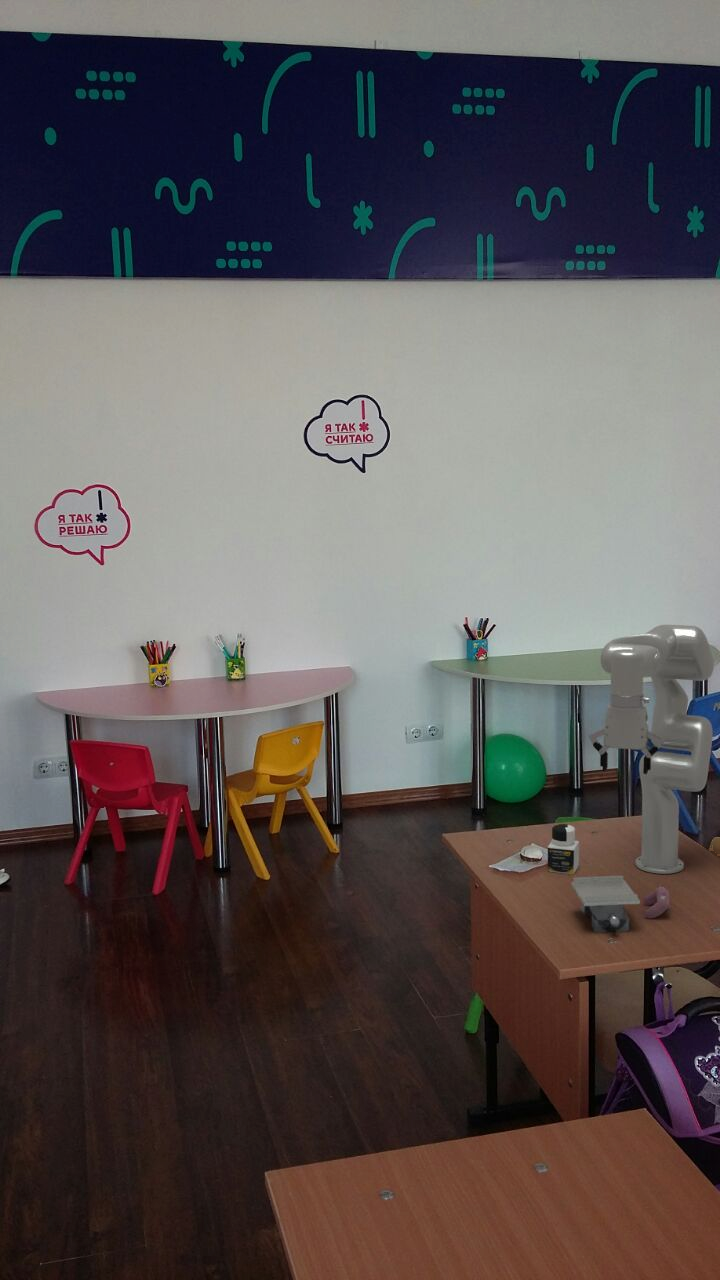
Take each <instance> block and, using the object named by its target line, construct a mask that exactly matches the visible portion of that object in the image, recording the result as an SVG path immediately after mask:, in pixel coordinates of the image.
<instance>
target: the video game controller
mask: <svg viewBox="0 0 720 1280" xmlns="http://www.w3.org/2000/svg"><path fill="white" fill-rule="evenodd" d="M669 898H670V892H669V889H667V887H664V886H662V887H661V885H659V887H656V888H655V889H654V890H653V891H651V892H650V893H648V894H647V895H646V896H644V898H643V900H642V901H643V904H644V905H645V906H650V907H648V908H647V909H646V911H645V913H644V915H645V918H646V919H655V918H656V917H659V916H661V915H662V914H663V913H665V912H666V910H670V908H671V904H670V901H671V900H670V899H669ZM651 905H652V906H651Z"/></svg>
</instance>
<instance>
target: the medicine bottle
mask: <svg viewBox="0 0 720 1280" xmlns="http://www.w3.org/2000/svg"><path fill="white" fill-rule="evenodd" d="M550 841H551V842H550V843H549V844H548V846H547V871H549V872H550V873H556V874H557V873H559V874H565V875H574V874H575V873H576V871H577V869H578V868H579V865H580V841H578V840H576V828H575V827H574V826H573V825H570V824H565V823H560V824H555V825H554V826H552V828H551V840H550Z"/></svg>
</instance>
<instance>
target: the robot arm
mask: <svg viewBox="0 0 720 1280" xmlns="http://www.w3.org/2000/svg"><path fill="white" fill-rule="evenodd" d="M599 660H600V666H601V668H602V669H603V671H604V672H606V673H607V674H610V695H609V696H610V701H609V703H610V704H608V705H607V708H606V712H605V716H604V717H605V719H604V727H603V728H602V729H599V730H597V731H595V732H592V733H590V734H589V736H588V738H589V740H590V743H591V744H592V746H593V748H594V749H596V751H597V752H598V754H599V755H600V757H599V759H600V761H599V762H600V763H599V766H600V767H602V771H603V772H605V771H607V770H608V767H609V766H608V764H609V763H608V762H609V761H608V759H609V753H608V752H607V750H609V749H623V750H637V751H639V750H640V751H641V752H642V753H643V755H642V756H641V758H640V759H639V764H638V767H639V768H638V771H639V778H640V785H641V796H642V797H641V802H642V803H641V804H642V805H641V807H642V808H641V816H642V817H641V855H640V856H638V857H637V858H635V866H636V868H638V869H639V870H641V871H644V872H647V873H651V874H659V875H660V874H661V875H667V874H668V875H669V874H676V873H679V872H681V871H683V870H684V868H685V867H684V865H685V863H684V861H683V860H681V859H680V858H679V824H680V823H679V820H680V818H679V817H680V816H679V815H680V804H679V801H678V798H677V796H676V795H675V793H674V791H673V790H676V791H677V790H678V791H684V792H694V793H695V792H696V793H697V792H701V791H702V790H704V789H705V787H706V785H707V781H708V775H709V774H708V773H709V768H710V761H711V760H710V759H711V754H712V745H713V735H714V734H713V726H712V723H711V721H710V720H709V719H708V718H707V717H704V716H702V715H701V716H700V715H692V714H691V715H690V714H687V712H688V704H689V698H688V695H687V692H686V691H685V689H684V687H683V686H682V685H681V684H680V683H679V681H678V680H686V681H697V682H698V681H699V682H702V681H707V680H708V679H710V678H711V676H712V675H713V672H714V667H715V666H714V665H715V664H714V663H715V662H714V657H713V653H712V650H711V648H710V644H709V640H708V638H707V636H706V634H705V633H704V631H703V630H702V629H701V628H700V627H698V626H696V625H683V624H682V625H681V624H659V625H657V626H655V627H653V628H652V629H651V630H650V629H649V631H646V633H638V634H635V635H633V634H632V635H628V636H623V637H621V636H620V637H617V638H614V639H612V640H610V641H609V642H607V643H606V644H605V645H604V647H603V648H602V651H601V653H600V659H599ZM644 677H650V679H651V683H652V685H653V689H654V692H655V703H654V710H653V715H652V721H651V728H650V731H649V717H648V712H647V711H648V710H647V707H646V706H644V705H645V704H649V703H650V698H649V697H646V696H645V695H644ZM601 736H603V745H602V744H601V743H600V742H599V741H598V738H599V737H601ZM649 739H650V740H651V743H652V745H653V747H651V748H650V747H649V746H648V745H649ZM660 748H662V749H668V750H677V751H686V752H690V753H691V754H684V753H676V752H666V751H659V749H660Z"/></svg>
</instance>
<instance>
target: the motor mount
mask: <svg viewBox="0 0 720 1280" xmlns="http://www.w3.org/2000/svg"><path fill="white" fill-rule="evenodd" d="M570 883H571V887H572V888H573V890H574V891H575V893H576V894H577V897H578V898H579V900H580V901H581V908H580V909H581V912H582V914H583V915H584V916H591V929H592V930H593V932H594V933H610V932H609V931H617V932H629V930H630V918H629V916H628V915H627V911H626V909H625V908H624V906H623V905H640V903H641V900H640V898H639V897H638V894H637V893H635V892H634V891H633V889H632V888H631V886H629V884H628V883H627V881H626V880H624V875H610V876H609V875H607V876H606V875H604V876H584V877H583V876H582V877H573V881H571V882H570Z"/></svg>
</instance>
